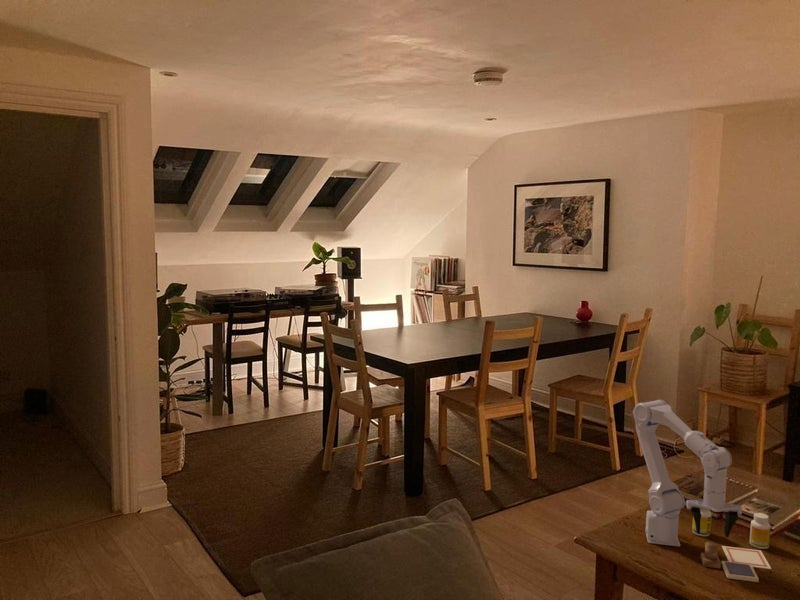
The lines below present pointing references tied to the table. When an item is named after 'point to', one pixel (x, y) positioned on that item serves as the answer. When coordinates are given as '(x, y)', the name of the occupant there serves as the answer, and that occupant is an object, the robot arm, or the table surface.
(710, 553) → the stamp
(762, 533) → the supplement bottle
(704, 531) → the supplement bottle
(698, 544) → the table surface
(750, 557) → the print sheet
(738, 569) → the ink pad
